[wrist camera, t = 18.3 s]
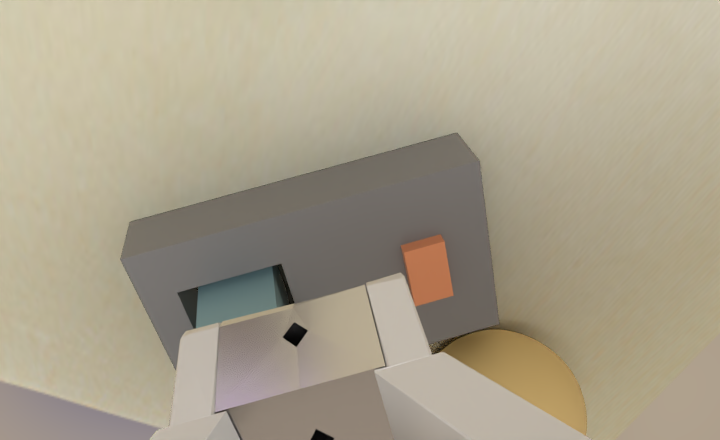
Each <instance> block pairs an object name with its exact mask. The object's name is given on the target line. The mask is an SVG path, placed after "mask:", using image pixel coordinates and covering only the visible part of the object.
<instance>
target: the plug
mask: <svg viewBox="0 0 720 440" xmlns="http://www.w3.org/2000/svg"><path fill="white" fill-rule="evenodd" d="M286 305H289V301H288V294H287V292H286V289H285V286H284V283H283V280H282V277H281V274H280V271H279V268H278V265H274V266H271V267H267V268H263V269H260V270H256V271H253V272H249V273H246V274H242V275H238V276H235V277H231V278H228V279H224V280H220V281H217V282H213V283H210V284H206V285H203V286H199V287H198V301H197V319H196V328H200V327H204V326H207V325H211V324H215V323H222V321H226V320H230V319H234V318H238V317H242V316H246V315H250V314H254V313H258V312H262V311H266V310H270V309H274V308H278V307H282V306H286Z"/></svg>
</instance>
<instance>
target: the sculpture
mask: <svg viewBox="0 0 720 440" xmlns="http://www.w3.org/2000/svg"><path fill="white" fill-rule="evenodd" d="M441 352H445V353H447V354H448V355H450V356H452V357H453V358H455V359H457V360H458V361H460V362H462V363H463V364H465V365H467V366H469V367H470V368H472V369H474V370H475V371H477V372H479V373H480V374H482V375H484V376H485V377H487V378H489V379H491V380H492V381H494V382H496V383H497V384H499V385H501V386H502V387H504V388H506V389H507V390H509V391H511V392H512V393H514V394H516V395H518V396H519V397H521V398H523V399H524V400H526V401H528V402H529V403H531V404H533V405H534V406H536V407H538V408H539V409H541V410H543V411H545V412H546V413H548V414H550V415H551V416H553V417H555V418H556V419H558V420H560V421H561V422H563V423H565V424H567V425H568V426H570V427H572V428H573V429H575V430H577V431H578V432H580V433H582V434H583V435H585V436H586V431H587V415H586V407H585V402H584V398H583V395H582V392H581V389H580V387H579V384H578V382H577V380H576V378H575V376H574V375H573V373H572V372H571V370H570V369H569V367H568V366H567V365H566V364H565V363H564V361H563V360H562V359H561V358H560V357H559V356H558V355H557V354H555V353H554V352H553V351H552V350H551V349H549V348H548V347H546V346H545V345H543V344H542V343H540V342H538V341H537V340H535V339H533V338H530V337H528V336H526V335H523V334H520V333H517V332H513V331H508V330H498V329H491V330H483V331H478V332H474V333H471V334H468V335H466V336H463V337H461V338H459V339H457V340H455V341H454V342H452V343H451V344H449V345H448V346H446V347H445V348H444V349H443V350H442V351H441ZM439 353H440V352H439Z"/></svg>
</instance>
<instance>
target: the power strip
mask: <svg viewBox="0 0 720 440" xmlns="http://www.w3.org/2000/svg"><path fill="white" fill-rule="evenodd" d="M120 260H121V262H122V264H123V266H124V268H125V270H126V272H127V274H128V276H129V278H130V280H131V282H132V284H133V286H134V288H135V290H136V292H137V294H138V296H139V298H140V300H141V302H142V304H143V306H144V308H145V310H146V312H147V314H148V316H149V318H150V320H151V322H152V324H153V326H154V328H155V330H156V332H157V334H158V336H159V338H160V340H161V342H162V344H163V346H164V348H165V350H166V352H167V354H168V356H169V358H170V360H171V362H172V364H173V366H174V368H175V370H176V368H177V360H178V353H179V345H180V339H181V337H182V336H183V334H184V333H185V331H188V330H192V329H196V319H197V301H198V292H197V289H196V287H199V286H203V285H206V284H210V283H213V282H217V281H220V280H224V279H228V278H231V277H235V276H238V275H242V274H246V273H249V272H253V271H256V270H260V269H263V268H267V267H271V266H274V265H278V264H282V267H283V270H284V273H285V276H286V279H287V282H288V285H289V288H290V291H291V294H292V297H293V300H294V303H295V304H296V303H300V302H303V301H307V300H310V299H314V298H318V297H321V296H325V295H329V294H332V293H336V292H339V291H343V290H347V289H350V288H354V287H357V286H361V285H365V286H366V283H367V282H370V281H374V280H377V279H380V278H384V277H387V276H390V275H394V274H397V273H402V274H403V275H404V276H405V279H406V282H407V285H408V288H409V290H410V293H411V296H412V299H413V302H414V304H415V307H416V310H417V313H418V316H419V319H420V321H421V324H422V327H423V330H424V333H425V336H426V338H427V341H428V344H432V343H435V342H439V341H442V340H446V339H449V338H453V337H456V336H460V335H463V334H467V333H470V332H473V331H477V330H480V329H484V328H487V327H491V326H494V325H498V324H499V317H498V308H497V300H496V292H495V284H494V276H493V268H492V259H491V251H490V243H489V235H488V227H487V218H486V210H485V202H484V194H483V186H482V177H481V169H480V161H479V159H478V158H477V157H476V156H475V155H474V153H473V152H472V151H471V150H470V148H469V147H468V146H467V145H466V143H465V142H464V141H463V140H462V138H461V137H460V136H459V135H458V133H455V134H451V135H447V136H444V137H440V138H436V139H433V140H429V141H425V142H422V143H418V144H414V145H411V146H407V147H403V148H400V149H396V150H392V151H389V152H385V153H381V154H378V155H374V156H370V157H367V158H363V159H359V160H356V161H352V162H348V163H345V164H341V165H337V166H333V167H330V168H326V169H322V170H319V171H315V172H311V173H308V174H304V175H300V176H297V177H293V178H289V179H286V180H282V181H278V182H275V183H271V184H267V185H264V186H260V187H256V188H253V189H249V190H245V191H242V192H238V193H234V194H231V195H227V196H223V197H220V198H216V199H212V200H209V201H205V202H201V203H198V204H194V205H190V206H187V207H183V208H179V209H176V210H172V211H168V212H165V213H161V214H157V215H154V216H150V217H146V218H143V219H139V220H135V221H132V222H130V223H129V227H128V231H127V235H126V239H125V243H124V247H123V251H122V255H121V259H120ZM366 290H367V287H366ZM367 293H368V292H367ZM368 297H369V296H368ZM369 300H370V299H369ZM370 304H371V303H370Z"/></svg>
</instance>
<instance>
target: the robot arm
mask: <svg viewBox="0 0 720 440" xmlns="http://www.w3.org/2000/svg"><path fill="white" fill-rule="evenodd" d="M366 287H367V290H366ZM367 292H368V293H367ZM368 296H369V297H368ZM369 299H370V300H369ZM370 303H371V304H370ZM150 440H592V439H590V438H588V437H587V436H585V435H583V434H582V433H580V432H578V431H577V430H575V429H573V428H572V427H570V426H568V425H567V424H565V423H563V422H561V421H560V420H558V419H556V418H555V417H553V416H551V415H550V414H548V413H546V412H545V411H543V410H541V409H539V408H538V407H536V406H534V405H533V404H531V403H529V402H528V401H526V400H524V399H523V398H521V397H519V396H518V395H516V394H514V393H512V392H511V391H509V390H507V389H506V388H504V387H502V386H501V385H499V384H497V383H496V382H494V381H492V380H491V379H489V378H487V377H485V376H484V375H482V374H480V373H479V372H477V371H475V370H474V369H472V368H470V367H469V366H467V365H465V364H463V363H462V362H460V361H458V360H457V359H455V358H453V357H452V356H450V355H448V354H447V353H445V352H440V353H437V354H433V355H432V352H431V350H430V347H429V344H428V341H427V338H426V336H425V333H424V330H423V327H422V324H421V321H420V319H419V316H418V313H417V310H416V307H415V304H414V302H413V299H412V296H411V293H410V290H409V288H408V285H407V282H406V279H405V276H404V275H403V274H402V273H397V274H394V275H390V276H387V277H384V278H380V279H377V280H374V281H370V282H367V283H366V286H365V285H361V286H357V287H354V288H350V289H347V290H343V291H339V292H336V293H332V294H329V295H325V296H321V297H318V298H314V299H310V300H307V301H303V302H300V303H296V304H290V305H286V306H282V307H278V308H274V309H270V310H266V311H262V312H258V313H254V314H250V315H246V316H242V317H238V318H234V319H230V320H226V321H222V323H215V324H211V325H207V326H204V327H200V328H196V329H192V330H188V331H185V333H184V334H183V336H182V337H181V339H180V345H179V353H178V360H177V368H176V375H175V383H174V390H173V398H172V405H171V413H170V420H169V427H166V428H162V429H159V430H157V431H156V432H155V433H154V434H153V436H152V437H151V438H150Z"/></svg>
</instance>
